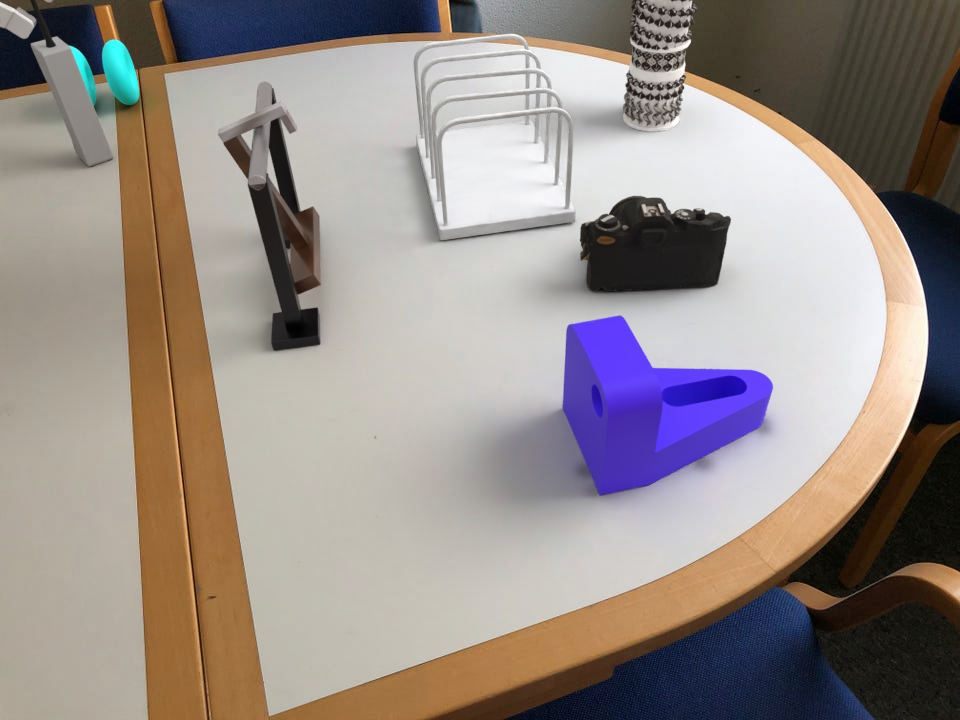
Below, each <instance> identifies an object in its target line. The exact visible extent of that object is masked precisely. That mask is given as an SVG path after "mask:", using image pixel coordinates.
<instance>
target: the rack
mask: <svg viewBox="0 0 960 720" xmlns="http://www.w3.org/2000/svg"><path fill="white" fill-rule="evenodd" d="M275 103H278V101H277V97H276V93H275V89H274V88H273V86H272V84H271V83H270V82H268V81H262V82H259V84H258V85H257V90H256V103H255V110H254V111H255V112H254V113H256V112H258V111H260V110H262V109H264V108H267V107H269V106H271V105H273V104H275ZM252 131H253V132H252V140H251V148H250V149H251V159H250V169H249V176H248V179H247V189H248V192H249V196H250V199H251V204H252V206H253V207H252V208H253V210H254V214H255V218H256V222H257V225H258V229H259V234H260V236H261V237H260V238H261V240H262V244H263V247H264V252H265V255H266V259H267V263H268V266H269V270H270V274H271V278H272V281H273V285H274V289H275V293H276V296H277V300H278V304H279V308H280V311H279V312H273V313H272V314H271V315H272V316H271V317H272V318H271V335H270V336H271V338H270V344H271V347H272V350H273V351H280V350H289V349H295V348H302V347H311V346H317V345H321V316H320V310H319V307H309V308H302V307H301V303H300V299H299V294H297V290H296V286H295V282H294V278H293V274H292V270H291V266H290V257H289V255H288V249H290V247H291V242H290V241H289V239H288V238H287V236H286V235H285V234H284V232H283V231H282V229H281V225H280V221H279V217H278V213H277V209H276V205H275V201H274V197H273V193H272V189H271V185H270V180H271V179H270V180H269V178H270V176H269V174H268V164H269V155H270V157H271V162H272V167H273V172H274V176H275V179H276V184H277V187H278V192H279V193H280V195H281V197H282V198H283V200H284V201H285V203H286V204H287V206H288V207H289V209H290V210H291V212H292V213H293V215H294V214H296V213H298V212H301V211H302V210H301V205H300V201H299V196H298V192H297V187H296V182H295V179H294V174H293V168H292V166H291V161H290V156H289V150H288V147H287V143H286V138H285V133H284V129H283V123H282V120H281V119H280V117H279V118H277V119H274V120H272V121H270V122H268V123H265V124H263V125H261V126H259V127H257V128H254V129H252Z"/></svg>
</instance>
